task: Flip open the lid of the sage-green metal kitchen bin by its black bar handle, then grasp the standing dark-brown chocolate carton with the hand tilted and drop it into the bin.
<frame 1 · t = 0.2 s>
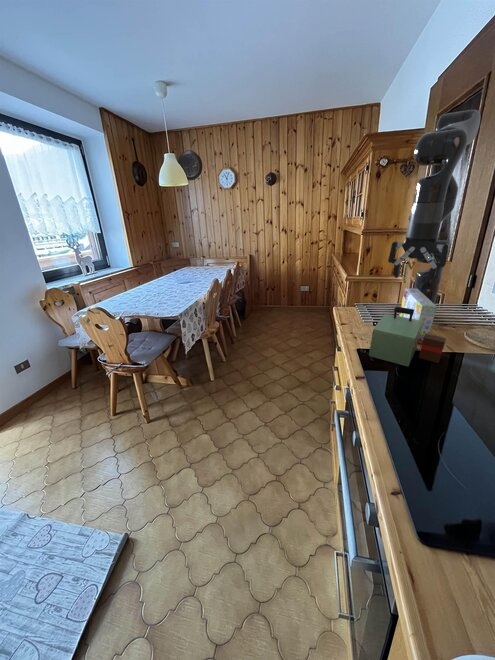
hand: (412, 279, 83), 29 cm above the counter, tool pointing down, fingers open, 8 cm apart
snack box: (411, 331, 115), on the counter
chocolate: (429, 358, 97), on the counter
bin: (393, 351, 101), on the counter
bin lid: (399, 320, 96), point 12 cm above the counter, hinge at 0.0°
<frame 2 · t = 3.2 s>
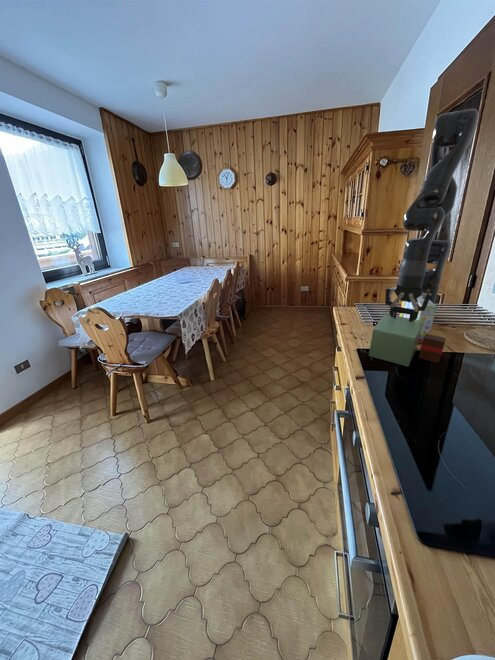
hand: (402, 318, 101), 11 cm above the counter, tool pointing down, fingers closed on bin lid, 6 cm apart
bin lid: (399, 320, 96), point 12 cm above the counter, hinge at 0.0°, touching gripper
everything else where it was.
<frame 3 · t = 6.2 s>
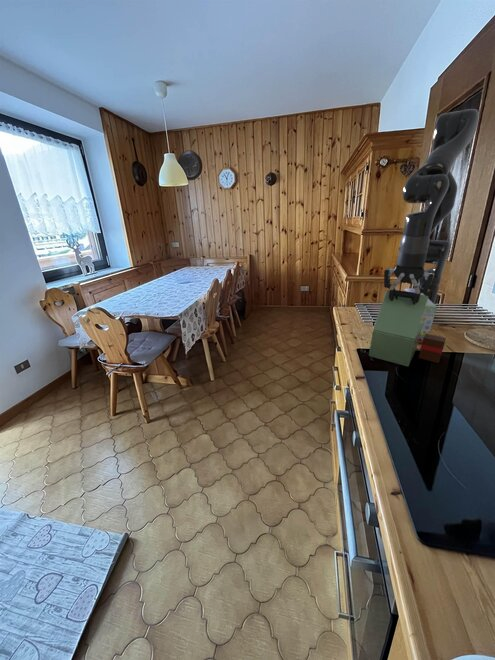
hand: (402, 301, 92), 19 cm above the counter, tool pointing down, fingers closed on bin lid, 6 cm apart
bin lid: (399, 310, 92), point 17 cm above the counter, hinge at 43.8°, touching gripper
everything else where it was.
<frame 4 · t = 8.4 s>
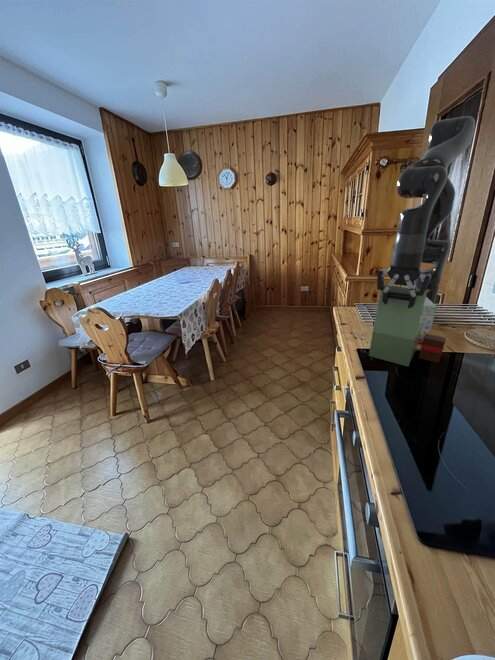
hand: (397, 305, 86), 21 cm above the counter, tool pointing down, fingers closed on bin lid, 6 cm apart
bin lid: (397, 312, 88), point 18 cm above the counter, hinge at 78.0°, touching gripper
everything else where it was.
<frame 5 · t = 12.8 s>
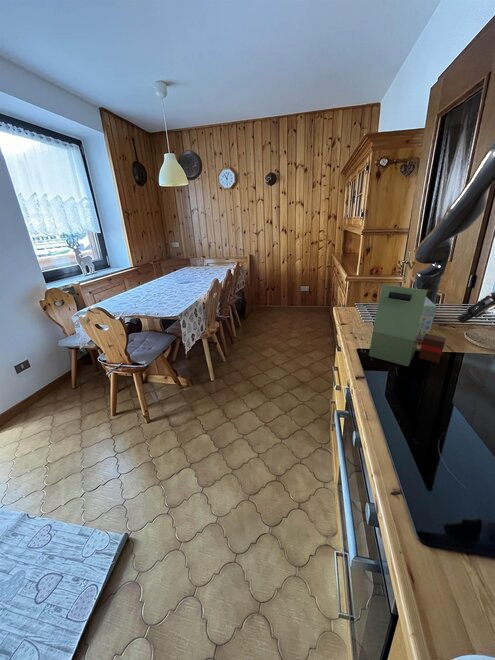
hand: (466, 317, 83), 18 cm above the counter, tool tilted 35°, fingers open, 8 cm apart
bin lid: (396, 312, 88), point 18 cm above the counter, hinge at 78.7°
everything else where it was.
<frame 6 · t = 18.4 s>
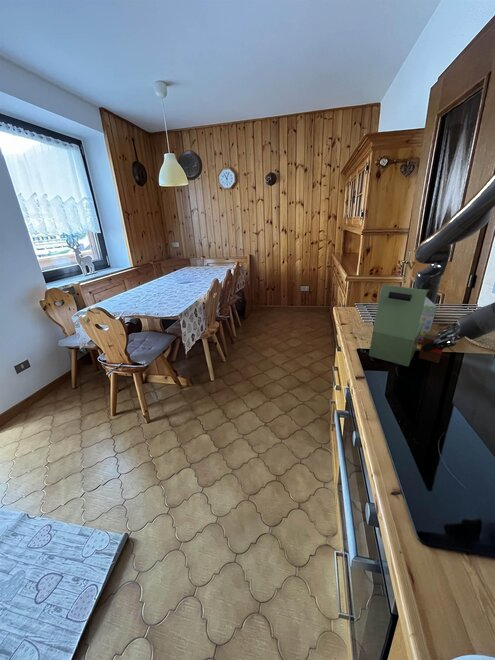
hand: (425, 346, 96), 4 cm above the counter, tool tilted 45°, fingers closed on chocolate, 3 cm apart
chocolate: (429, 358, 97), on the counter, touching gripper
everything else where it was.
when the fingers open (14 cm above the counter, at t = 24.7 s): chocolate drops 9 cm, resting on bin.
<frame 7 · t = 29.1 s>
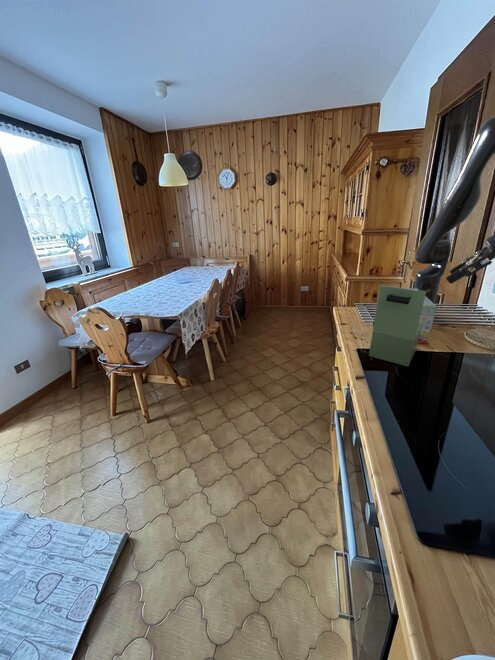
hand: (449, 277, 84), 29 cm above the counter, tool tilted 45°, fingers open, 8 cm apart
chocolate: (394, 348, 102), point 1 cm above the counter, touching bin
bin lid: (395, 314, 87), point 18 cm above the counter, hinge at 87.4°
everything else where it was.
at the end: bin lid at +87° (first picture: +0°); chocolate inside the target area in the bin (1.5 cm from its centre), point 0.8 cm above the bin's base; the gripper is holding nothing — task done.
